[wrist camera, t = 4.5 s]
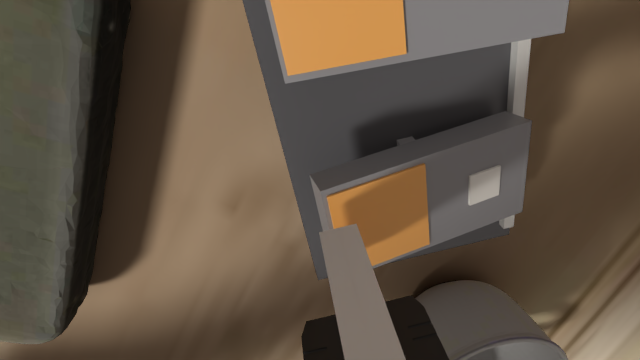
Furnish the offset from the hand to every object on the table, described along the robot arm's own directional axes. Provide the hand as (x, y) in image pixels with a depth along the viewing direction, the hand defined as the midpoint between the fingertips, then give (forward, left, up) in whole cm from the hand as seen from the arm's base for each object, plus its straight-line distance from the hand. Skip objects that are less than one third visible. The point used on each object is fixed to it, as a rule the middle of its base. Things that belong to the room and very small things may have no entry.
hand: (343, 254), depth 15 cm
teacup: (+8, -18, -9) cm, 22 cm away
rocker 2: (+4, 0, -3) cm, 5 cm away
